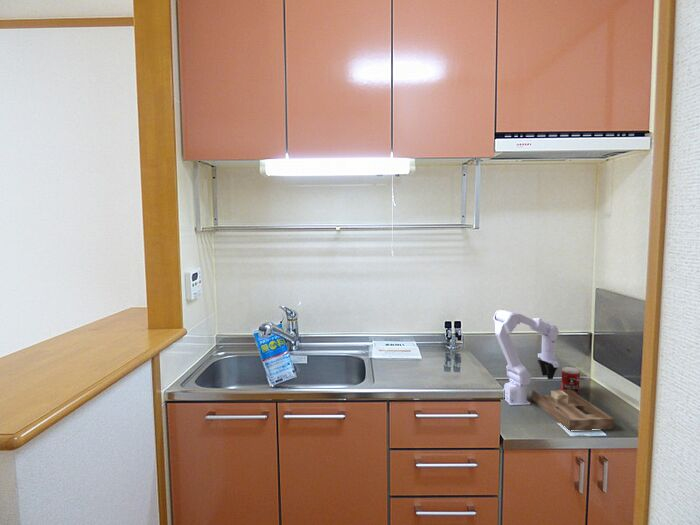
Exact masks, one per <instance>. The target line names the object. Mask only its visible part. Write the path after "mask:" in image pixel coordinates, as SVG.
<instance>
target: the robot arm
mask: <svg viewBox="0 0 700 525" xmlns="http://www.w3.org/2000/svg"><path fill="white" fill-rule="evenodd" d="M492 319H493V322H494V334H495V337H496V339H497V341H498V343H499V345H500V346H499V347H500V349H501V351H502V354H503V356H504V358H505V360H506V361H505V362H507V365H506V366H505V368H506V376H507V377H508V378H509V382H505V383H504V386H503V391H504V390H505V399H504V401H506V403H508V404H509V405H510V406H526V405H527V406H528V405H531V402H530V401H529V400H528V385H529V384H530V383H531V381H532V374H531V373H530V372H529V371H528V370H527V367H525V365H524V364H522V362H521V360H520V357H519V355H518V353H517V350H516V348H515V346H514V343H513V340H512V338H511V336H510V334H511V333H513V331H514V330H515V328H516V327H517V326H518V325H521V323H522V324H524V325H527V326H529V329H530V330H532V331H534V332H536V333H539V334H541V352H539V353H537V358H538V359H537V363H538V365H539V367H540V370H541V371H540V372H541V375H542V376H546V378H547V380H553V379H554V376H555V373H556V372H557V370H558V368H559V367H560V363H559V362H558V361H557V360H558V358H557V357H556V341H557V338H558V336H559V332H560V331H559V328H558V327H557V326H556V325H554V324H551V323H549V321H544V320H542V318H540V317H534V318H530V317H528V316H526V315H523V314H521V313H520V312H516V311H512V310H511V311H510V310H505V309H503V308H499V309H497V310H496V311H495V313H494V315H493V317H492Z"/></svg>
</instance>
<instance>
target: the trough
mask: <svg viewBox="0 0 700 525" xmlns="http://www.w3.org/2000/svg"><path fill="white" fill-rule="evenodd" d="M567 394H568V404H556V403H555V402H554V401H552V400H551V394H539V393H538V392H537V391H535V390H531V400H532V402H534V403H535V404H536V405H537V406H538V407H539V408H541V409H542V410H543V411H545V413H546V414H548V415H549V416H550V417H552V418H553V420H555V419H556V420H557V421H556V420H555V421H556V422H557V423H559V424H560V423H561V424H562V425H563V426H562V425H561V424H560V425H561V426H562V427H564V426H565V427H566V428H567V429H568V430H570V431H571V430H592V429H612V430H614V425H615V424H614V423H615V422H614V419H615V418H614V417H612V416H611V415H609V414H608V413H606V412H605V411H603V410H602V409H600V408H598V406H596V405H594V404H593V403H592V402H590V401H588V400H587V399H585V398H583V396H581V395H579V393H578V394H576V393H575V392H573V391H572V390H570V389H567ZM565 427H564V428H565ZM566 428H565V429H566ZM567 429H566V430H567ZM568 430H567V431H568Z"/></svg>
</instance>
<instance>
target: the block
mask: <svg viewBox="0 0 700 525" xmlns="http://www.w3.org/2000/svg"><path fill="white" fill-rule="evenodd" d="M550 395H551V400H552V401H554V402H555V403H556V404H568V394H566V393H565V392H563V391H562V389H561V390H560V389H558V390H550Z"/></svg>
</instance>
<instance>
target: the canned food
mask: <svg viewBox="0 0 700 525" xmlns="http://www.w3.org/2000/svg"><path fill="white" fill-rule="evenodd" d="M580 374H581V371H580V369H578V368H575V367H572V366H571V367H570V366H564V367H562V368H561V386H560V387H561V388H560V389H561V390H562V391H563V392H565V393H567V389H570V390H572V391H573V392H575V393H576V394H578V395H579V393H580V382H581V380H580V379H581V378H580Z"/></svg>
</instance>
